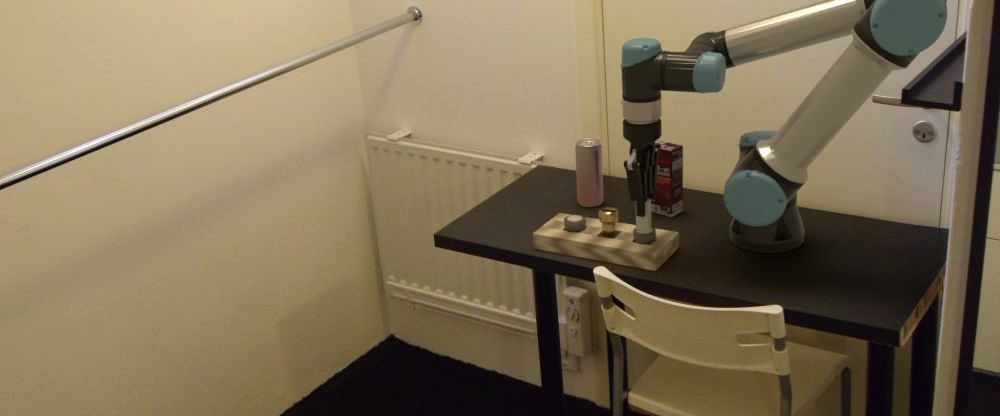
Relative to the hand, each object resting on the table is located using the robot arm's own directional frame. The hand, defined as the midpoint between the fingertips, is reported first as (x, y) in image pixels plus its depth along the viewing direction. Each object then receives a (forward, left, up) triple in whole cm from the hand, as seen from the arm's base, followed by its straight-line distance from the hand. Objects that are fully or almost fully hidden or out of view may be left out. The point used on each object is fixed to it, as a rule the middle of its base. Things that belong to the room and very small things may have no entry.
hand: (643, 228), depth 216 cm
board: (+9, 0, -6) cm, 11 cm away
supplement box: (+6, -23, -6) cm, 25 cm away
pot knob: (+8, 0, -3) cm, 8 cm away
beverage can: (+23, -21, -6) cm, 32 cm away
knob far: (+16, 0, -6) cm, 17 cm away
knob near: (0, 0, -6) cm, 6 cm away
